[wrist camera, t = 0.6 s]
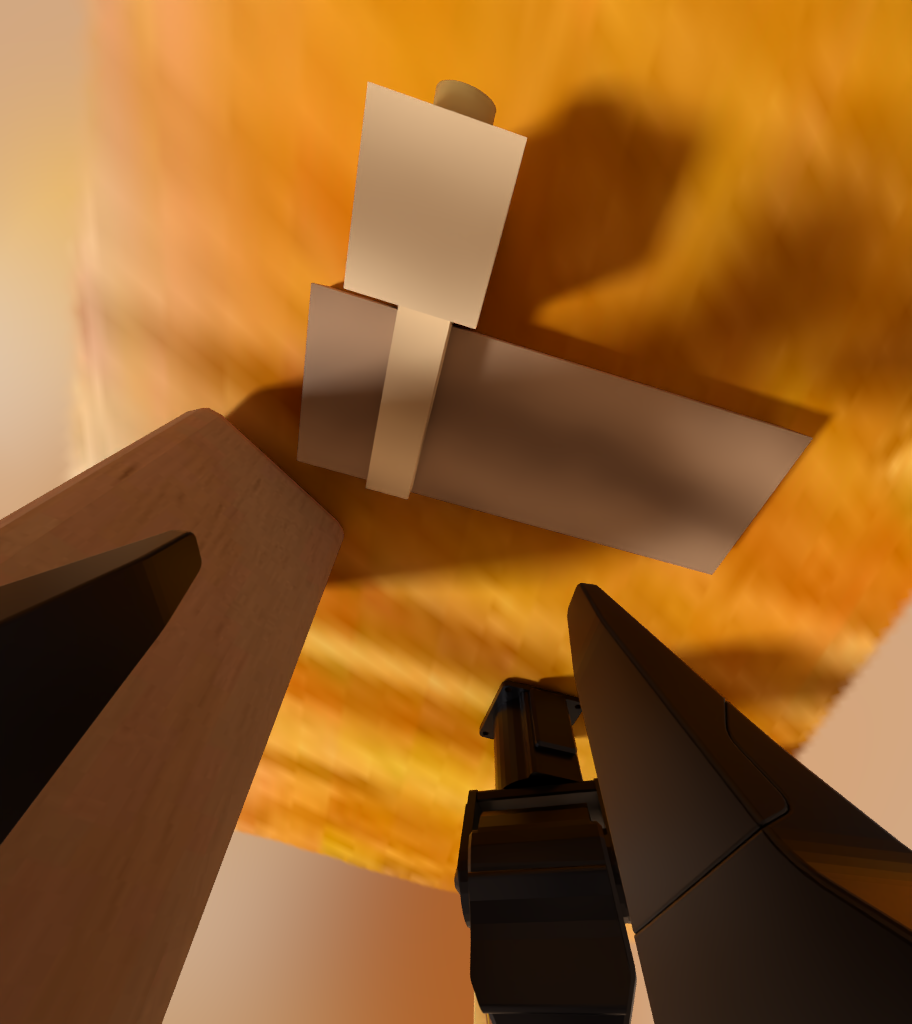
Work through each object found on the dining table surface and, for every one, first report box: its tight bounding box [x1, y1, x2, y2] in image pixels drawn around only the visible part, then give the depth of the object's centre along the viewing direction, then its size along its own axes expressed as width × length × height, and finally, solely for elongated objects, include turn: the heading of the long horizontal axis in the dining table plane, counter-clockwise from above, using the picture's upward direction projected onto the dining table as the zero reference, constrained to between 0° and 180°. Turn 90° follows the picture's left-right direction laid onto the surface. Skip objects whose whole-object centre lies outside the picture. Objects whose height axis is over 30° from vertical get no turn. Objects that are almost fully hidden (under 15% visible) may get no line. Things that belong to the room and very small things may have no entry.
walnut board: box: [297, 283, 813, 575], centre depth 19 cm, size 8×23×2 cm, turn 75°
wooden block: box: [0, 408, 344, 1024], centre depth 14 cm, size 10×10×20 cm
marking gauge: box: [344, 80, 527, 499], centre depth 15 cm, size 13×4×7 cm, turn 165°
